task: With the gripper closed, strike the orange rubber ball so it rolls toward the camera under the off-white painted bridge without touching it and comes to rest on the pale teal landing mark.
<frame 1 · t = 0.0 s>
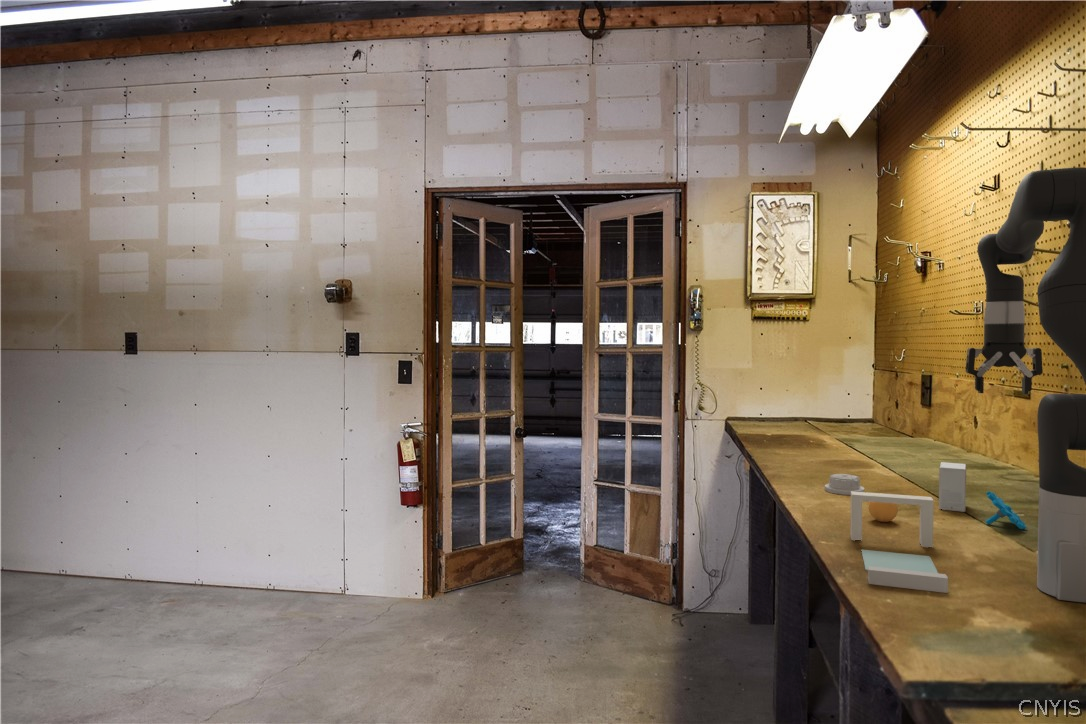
hand: (1002, 393, 153), 29 cm above the table, tool pointing down, fingers open, 8 cm apart
mechanical component: (844, 492, 184), on the table
landing mark: (898, 563, 127), on the table
ball: (883, 508, 155), on the table
blue branched figurine: (1005, 527, 150), on the table
bridge: (890, 541, 140), on the table
small box: (952, 508, 166), on the table
stopper wall: (906, 586, 116), on the table
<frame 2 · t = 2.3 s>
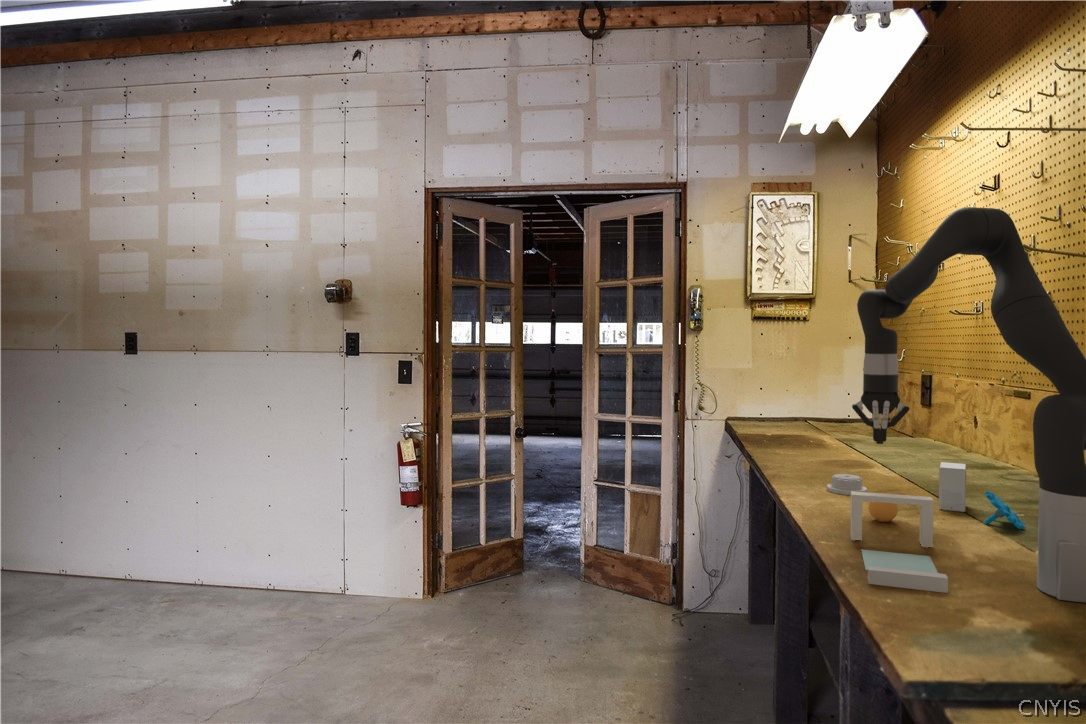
hand: (879, 443, 163), 16 cm above the table, tool pointing down, fingers closed
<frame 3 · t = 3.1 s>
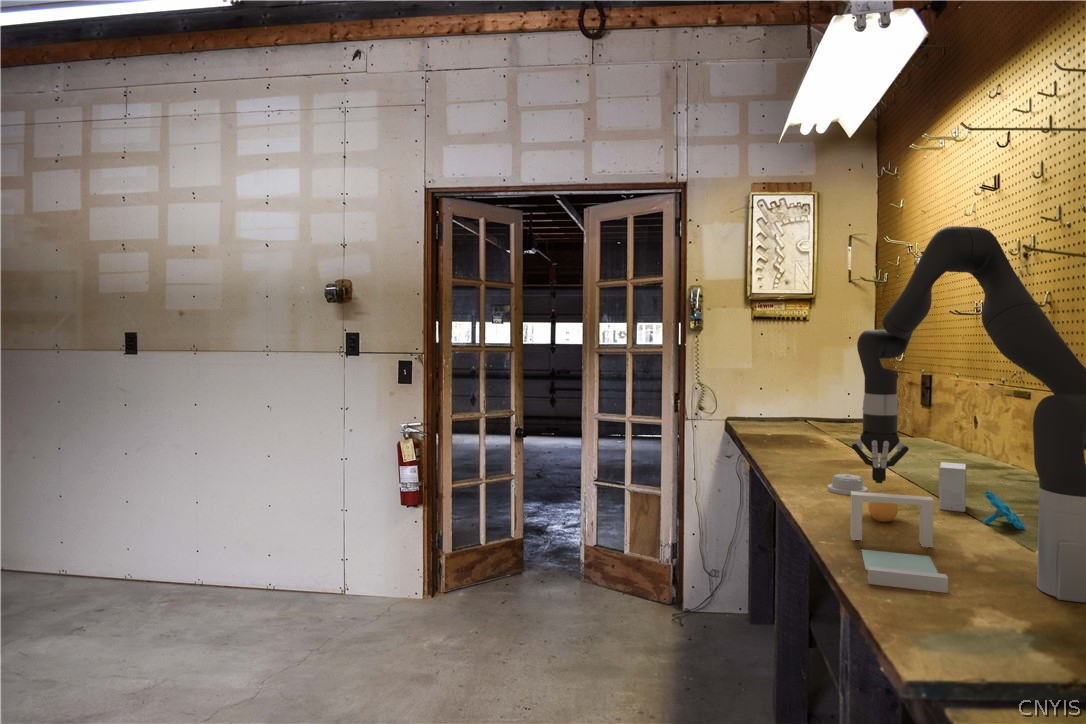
hand: (878, 482, 164), 7 cm above the table, tool pointing down, fingers closed
nothing on the table moved.
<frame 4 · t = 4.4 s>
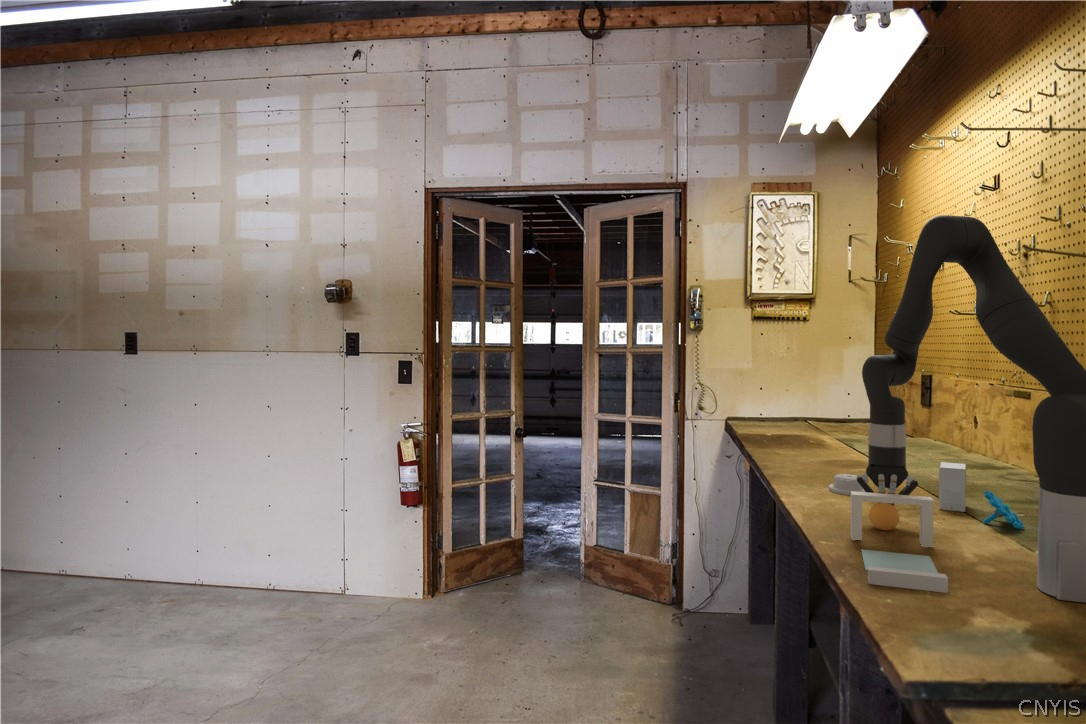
hand: (886, 519, 152), 1 cm above the table, tool pointing down, fingers closed
ball: (884, 516, 149), on the table
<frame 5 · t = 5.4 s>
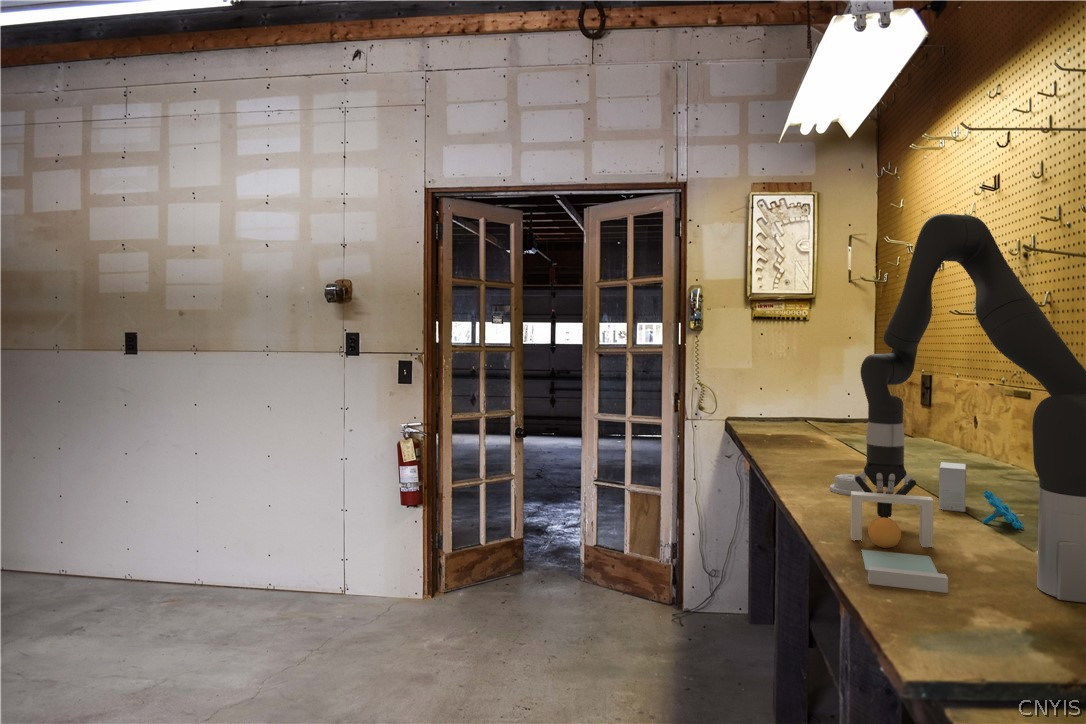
hand: (884, 518, 152), 2 cm above the table, tool pointing down, fingers closed
ball: (884, 532, 137), on the table
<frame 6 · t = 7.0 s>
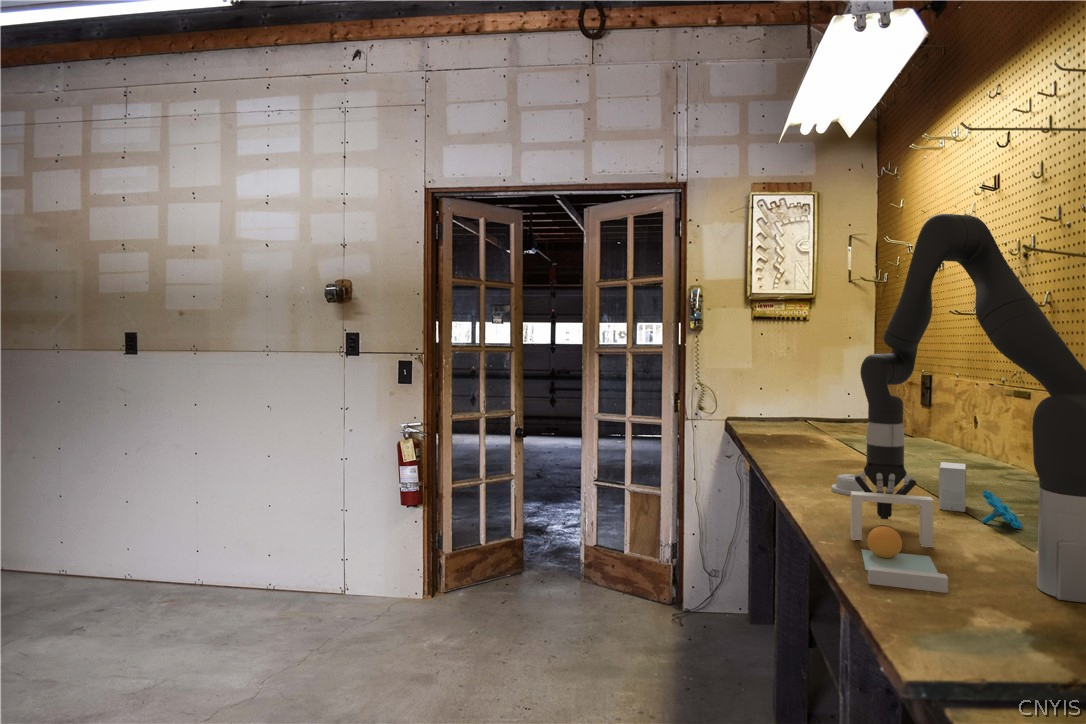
hand: (884, 518, 152), 2 cm above the table, tool pointing down, fingers closed
ball: (884, 542, 131), on the table
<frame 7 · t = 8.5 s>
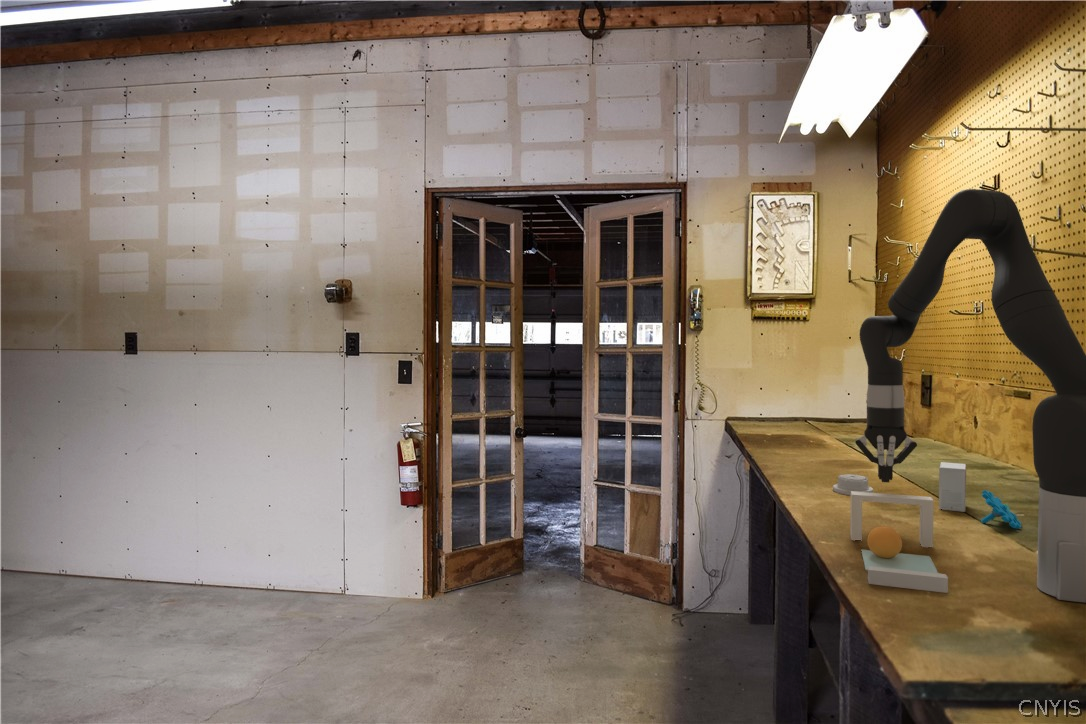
hand: (885, 481, 151), 10 cm above the table, tool pointing down, fingers closed
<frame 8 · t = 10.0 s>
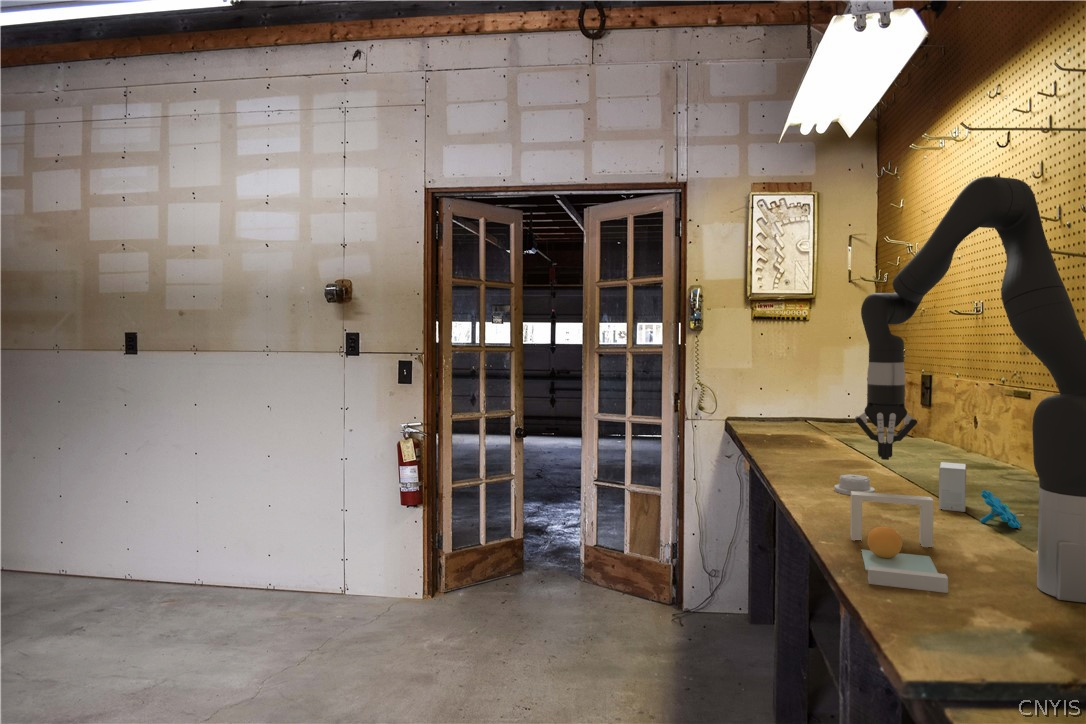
hand: (885, 459, 151), 15 cm above the table, tool pointing down, fingers closed
at the end: ball 3.7 cm from the landing mark (horizontally); ball never touched bridge; ball at rest at the end (0.0 cm/s) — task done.
